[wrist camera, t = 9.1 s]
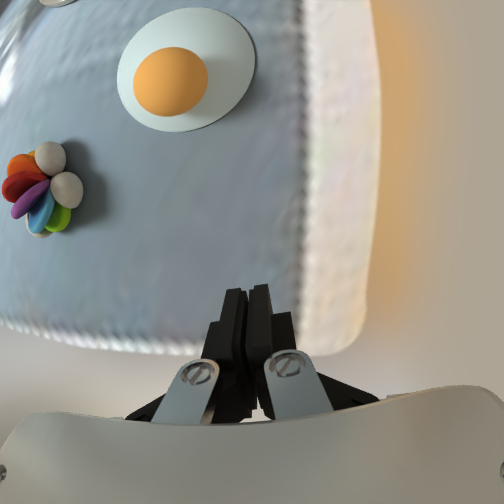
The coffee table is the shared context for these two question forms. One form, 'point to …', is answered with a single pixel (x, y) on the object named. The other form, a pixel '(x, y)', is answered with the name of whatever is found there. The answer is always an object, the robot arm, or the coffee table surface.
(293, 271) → the coffee table surface
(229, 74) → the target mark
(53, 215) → the multicolored petal flower toy
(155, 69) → the ball
